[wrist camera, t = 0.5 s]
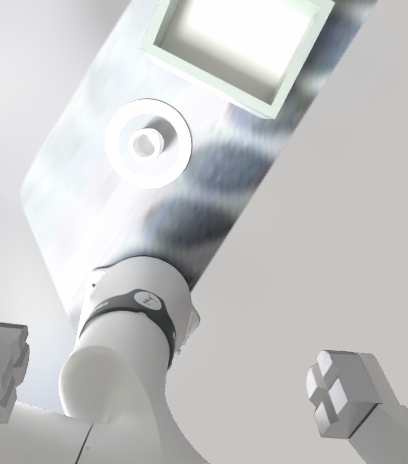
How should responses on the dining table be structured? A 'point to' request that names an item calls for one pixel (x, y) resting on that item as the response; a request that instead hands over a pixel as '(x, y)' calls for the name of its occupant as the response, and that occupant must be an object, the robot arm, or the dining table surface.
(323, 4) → the raised tray
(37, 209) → the dining table surface
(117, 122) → the candle holder
